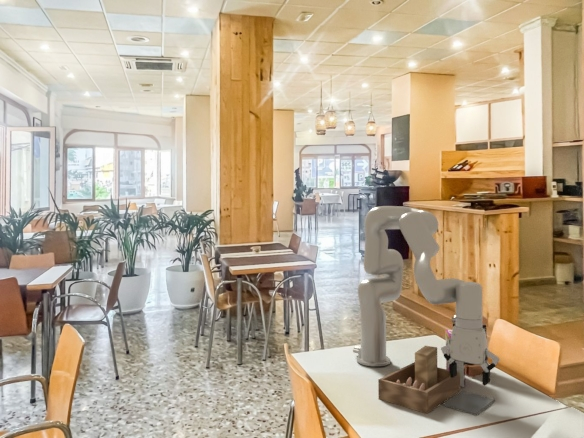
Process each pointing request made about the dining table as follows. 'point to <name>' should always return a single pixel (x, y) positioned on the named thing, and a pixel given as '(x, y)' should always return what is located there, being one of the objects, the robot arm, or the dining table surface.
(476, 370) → the whiskey bottle
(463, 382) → the candy bar box
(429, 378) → the oak block
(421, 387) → the ammunition
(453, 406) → the slate pad
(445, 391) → the caddy
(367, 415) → the dining table surface
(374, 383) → the dining table surface
